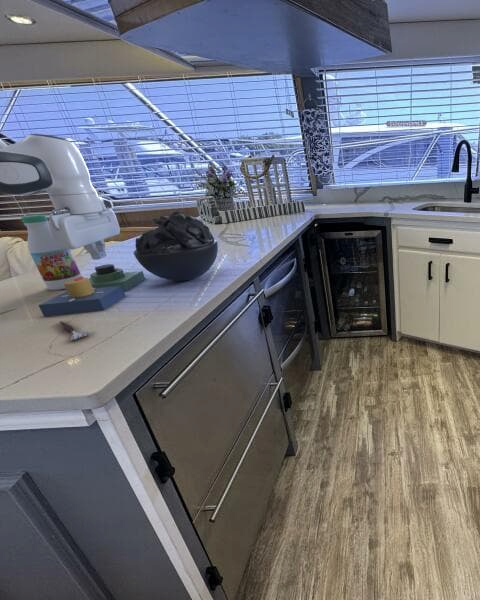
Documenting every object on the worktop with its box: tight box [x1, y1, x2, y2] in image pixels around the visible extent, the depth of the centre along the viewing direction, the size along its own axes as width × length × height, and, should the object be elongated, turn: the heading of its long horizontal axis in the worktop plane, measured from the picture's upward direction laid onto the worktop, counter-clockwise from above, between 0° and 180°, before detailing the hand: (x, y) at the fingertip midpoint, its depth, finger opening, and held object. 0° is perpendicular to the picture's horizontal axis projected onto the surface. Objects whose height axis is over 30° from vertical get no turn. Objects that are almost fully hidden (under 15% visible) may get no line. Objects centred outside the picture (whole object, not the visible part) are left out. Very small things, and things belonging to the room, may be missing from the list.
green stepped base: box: [88, 267, 146, 292], centre depth 89 cm, size 12×10×4 cm
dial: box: [63, 276, 94, 298], centre depth 76 cm, size 4×4×4 cm
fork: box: [59, 320, 90, 341], centre depth 65 cm, size 3×16×2 cm, turn 57°
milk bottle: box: [20, 214, 83, 291], centre depth 89 cm, size 8×8×20 cm
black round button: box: [94, 263, 116, 275], centre depth 88 cm, size 4×4×2 cm
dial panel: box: [38, 286, 126, 318], centre depth 77 cm, size 12×9×3 cm
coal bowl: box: [133, 210, 219, 282], centre depth 91 cm, size 20×20×19 cm
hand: (100, 258), depth 87 cm, fingers closed
